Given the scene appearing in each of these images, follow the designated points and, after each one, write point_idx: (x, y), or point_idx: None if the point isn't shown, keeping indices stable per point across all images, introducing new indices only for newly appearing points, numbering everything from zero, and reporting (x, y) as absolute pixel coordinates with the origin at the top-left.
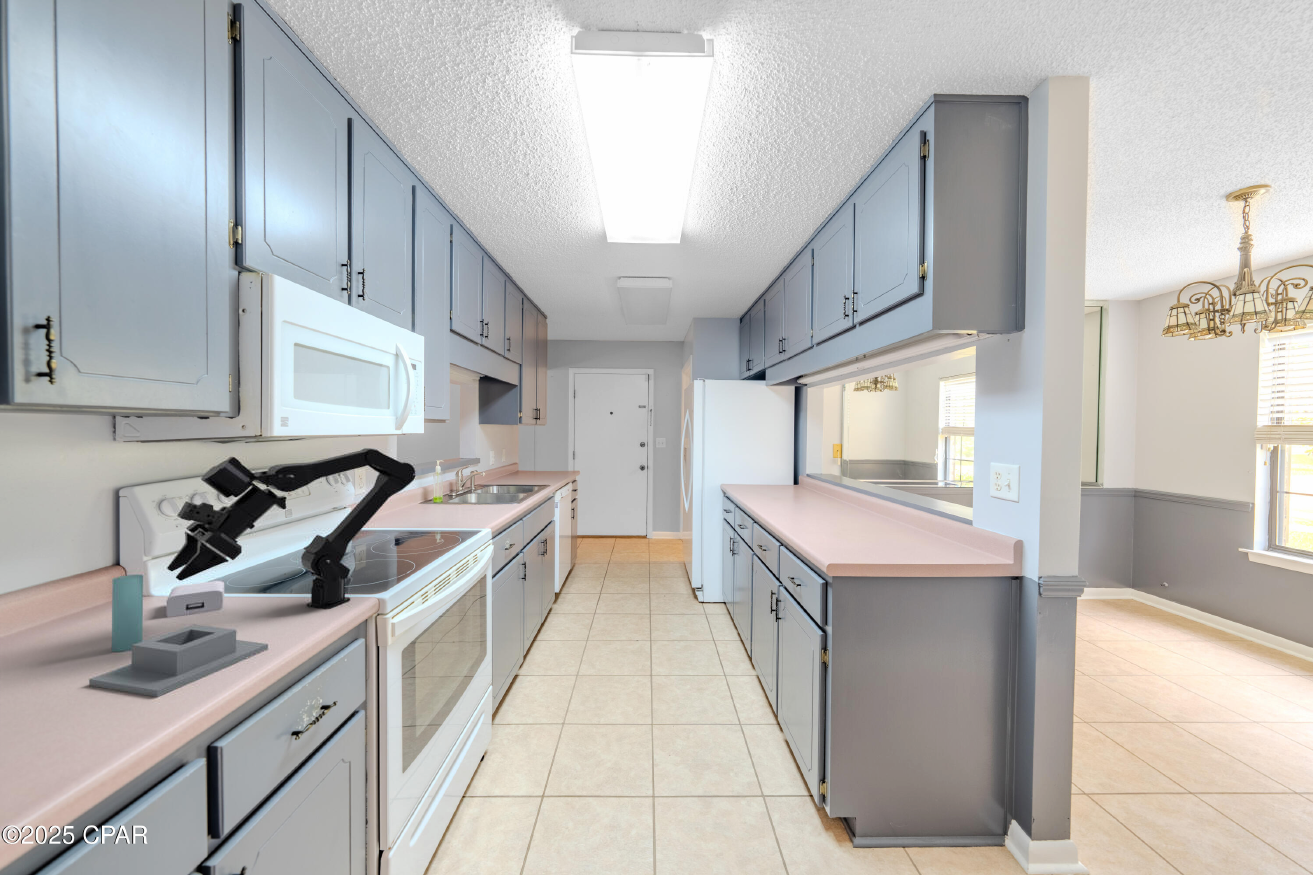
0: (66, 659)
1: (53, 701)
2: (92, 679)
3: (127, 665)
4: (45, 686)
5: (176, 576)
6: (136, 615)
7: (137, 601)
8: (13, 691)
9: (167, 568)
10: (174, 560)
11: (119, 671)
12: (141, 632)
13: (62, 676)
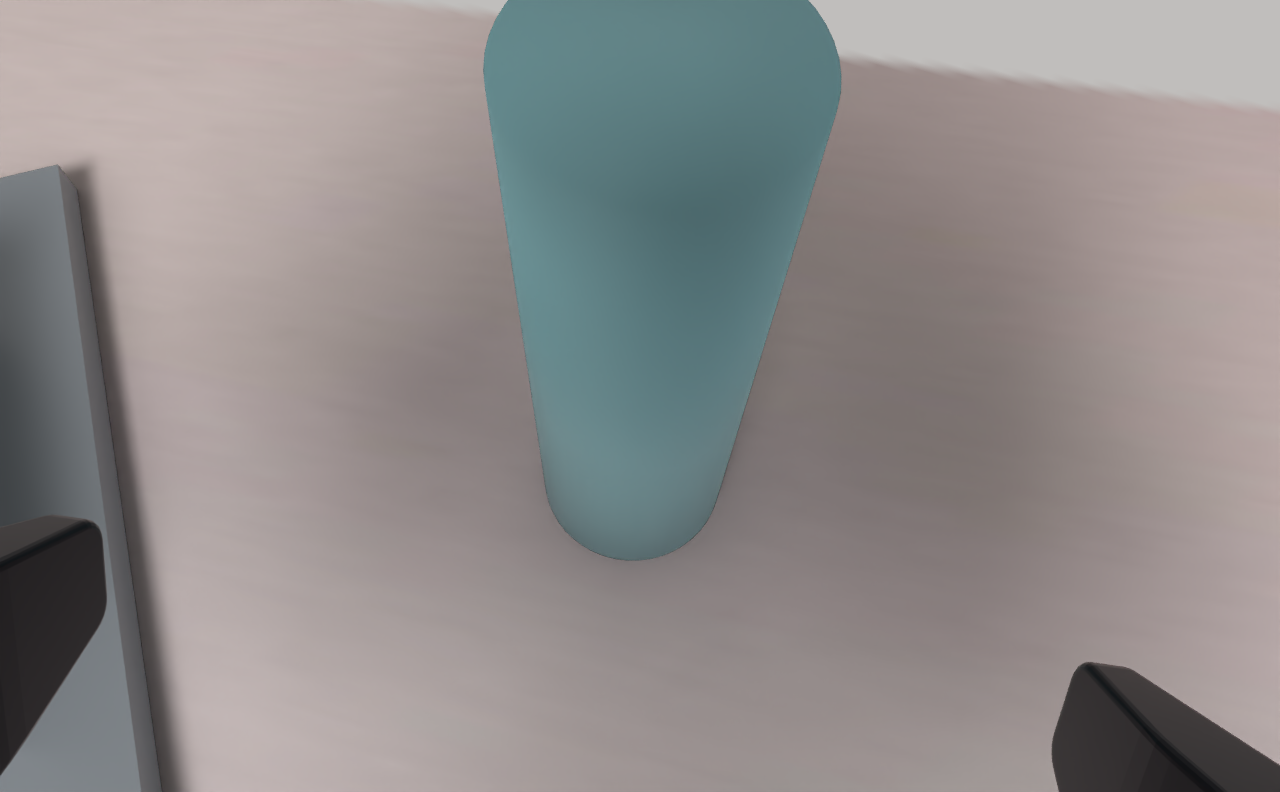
0: None
1: (19, 64)
2: (29, 171)
3: (77, 333)
4: (292, 81)
5: (50, 517)
6: (533, 389)
7: (526, 321)
8: (364, 3)
9: (1082, 665)
10: (1183, 777)
11: (7, 279)
12: (573, 505)
13: (379, 148)
